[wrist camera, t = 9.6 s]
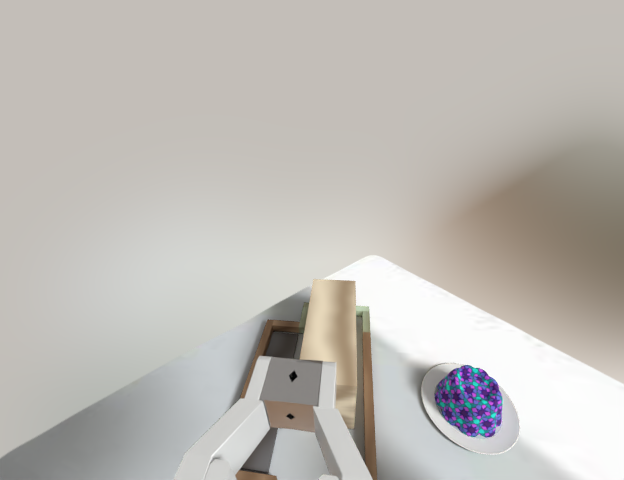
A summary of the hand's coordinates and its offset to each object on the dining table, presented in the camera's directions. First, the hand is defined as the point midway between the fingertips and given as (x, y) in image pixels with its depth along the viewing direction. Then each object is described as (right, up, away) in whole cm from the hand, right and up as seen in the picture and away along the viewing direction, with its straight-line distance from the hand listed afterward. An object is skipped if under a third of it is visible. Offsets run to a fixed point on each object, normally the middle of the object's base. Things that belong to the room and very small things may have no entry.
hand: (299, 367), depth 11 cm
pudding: (+22, -18, +28) cm, 40 cm away
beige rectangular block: (+4, -15, +34) cm, 37 cm away
